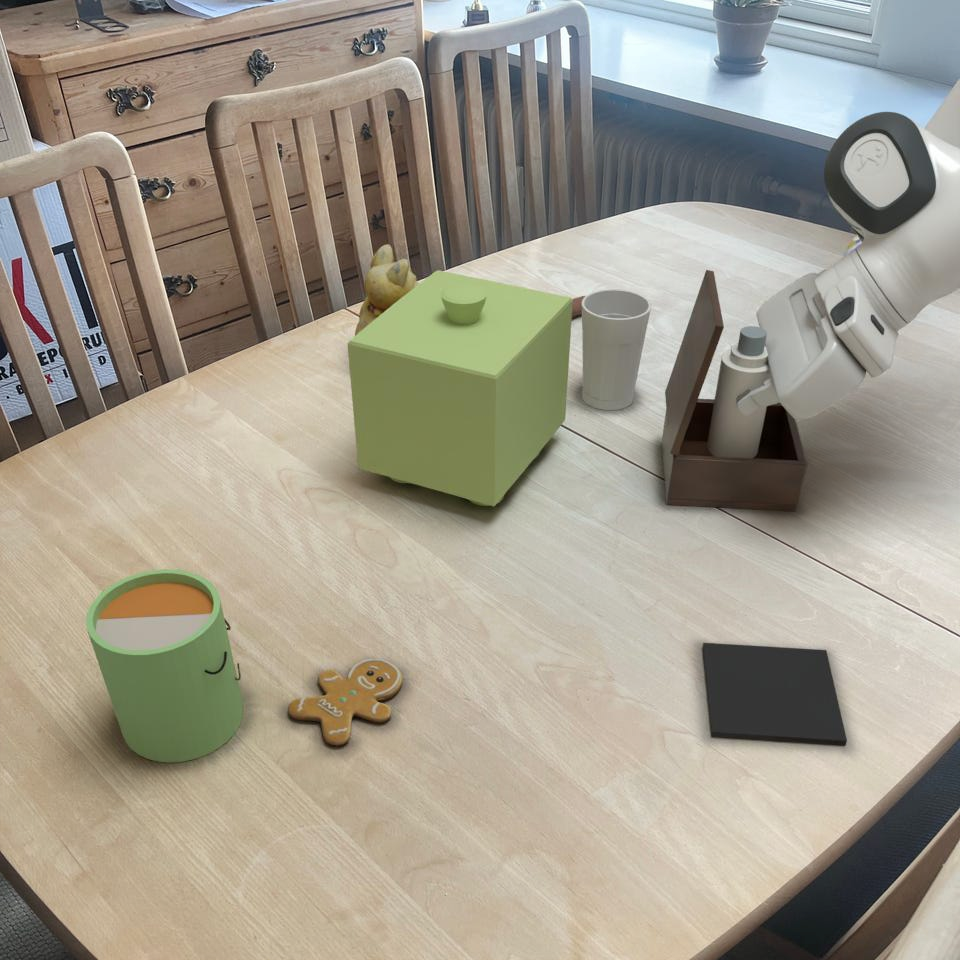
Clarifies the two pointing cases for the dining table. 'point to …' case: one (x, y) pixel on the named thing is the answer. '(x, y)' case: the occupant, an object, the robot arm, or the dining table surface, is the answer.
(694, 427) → the chest
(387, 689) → the cookie
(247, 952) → the dining table surface
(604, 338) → the cup
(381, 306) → the decorative figurine
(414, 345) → the container
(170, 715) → the mug
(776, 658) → the mat
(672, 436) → the chest lid
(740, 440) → the bottle
